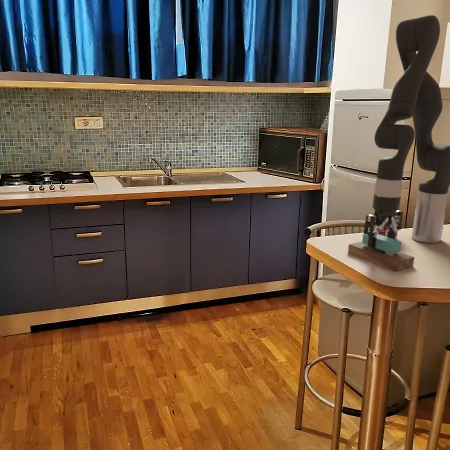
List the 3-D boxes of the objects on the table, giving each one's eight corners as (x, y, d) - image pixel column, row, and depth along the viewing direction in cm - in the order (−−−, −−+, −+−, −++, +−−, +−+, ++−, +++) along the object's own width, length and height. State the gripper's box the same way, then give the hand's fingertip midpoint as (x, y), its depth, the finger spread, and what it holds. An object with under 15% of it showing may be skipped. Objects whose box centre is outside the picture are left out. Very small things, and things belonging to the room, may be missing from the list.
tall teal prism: (369, 253, 143) (371, 232, 141) (398, 264, 134) (401, 241, 132) (360, 255, 141) (363, 233, 139) (389, 266, 132) (392, 243, 130)
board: (365, 249, 147) (366, 240, 146) (413, 266, 133) (414, 257, 132) (347, 253, 143) (348, 244, 142) (395, 271, 128) (396, 261, 128)
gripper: (392, 189, 139) (386, 239, 143) (360, 193, 131) (355, 246, 136) (413, 193, 133) (406, 245, 137) (381, 198, 125) (375, 253, 130)
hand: (380, 245), depth 137 cm, fingers open, 8 cm apart
